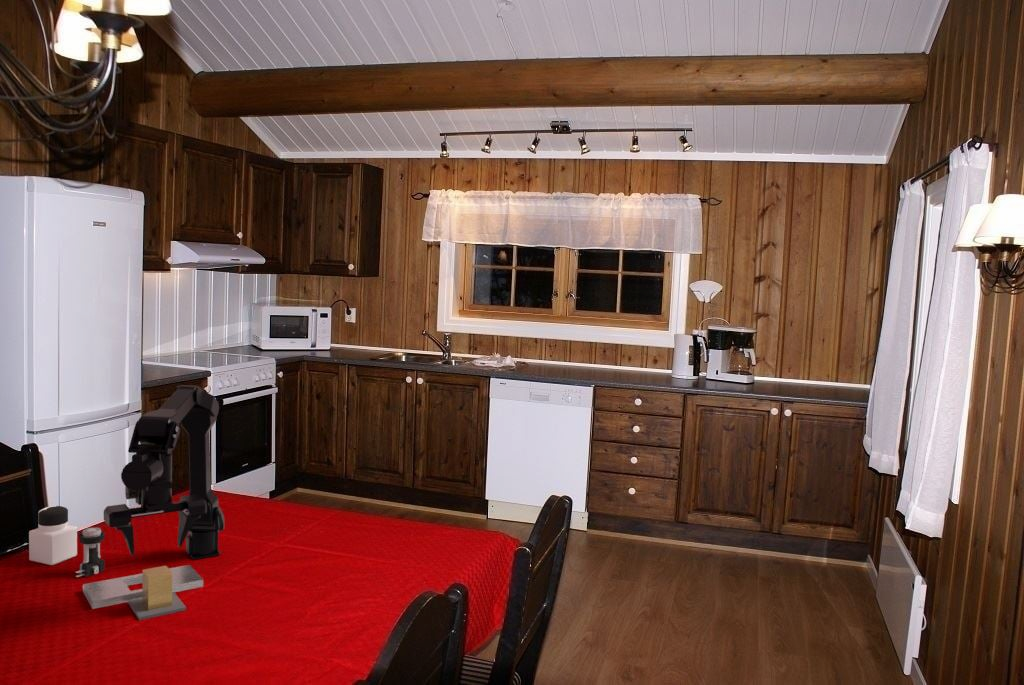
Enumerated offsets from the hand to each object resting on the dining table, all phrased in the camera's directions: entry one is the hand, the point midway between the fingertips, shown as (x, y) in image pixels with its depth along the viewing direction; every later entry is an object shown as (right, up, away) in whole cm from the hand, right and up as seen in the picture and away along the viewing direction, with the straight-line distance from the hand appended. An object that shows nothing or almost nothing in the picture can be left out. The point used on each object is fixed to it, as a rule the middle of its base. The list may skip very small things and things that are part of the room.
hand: (156, 550), depth 167 cm
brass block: (0, -11, +1) cm, 11 cm away
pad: (0, -12, +1) cm, 12 cm away
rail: (-7, -11, +9) cm, 16 cm away
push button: (-22, -9, +16) cm, 28 cm away
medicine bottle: (-34, -8, +23) cm, 42 cm away
